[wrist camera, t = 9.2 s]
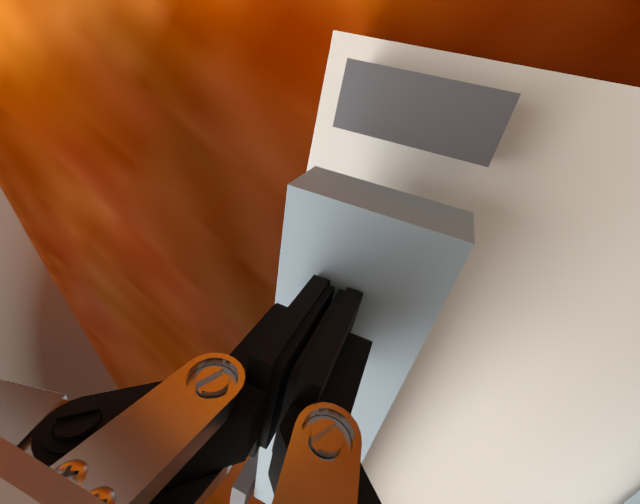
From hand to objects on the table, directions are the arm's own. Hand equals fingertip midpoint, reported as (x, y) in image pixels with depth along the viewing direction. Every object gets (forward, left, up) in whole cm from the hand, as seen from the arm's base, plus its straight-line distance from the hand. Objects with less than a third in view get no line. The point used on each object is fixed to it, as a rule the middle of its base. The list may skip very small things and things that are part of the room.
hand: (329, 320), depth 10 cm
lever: (-7, 0, -3) cm, 7 cm away
